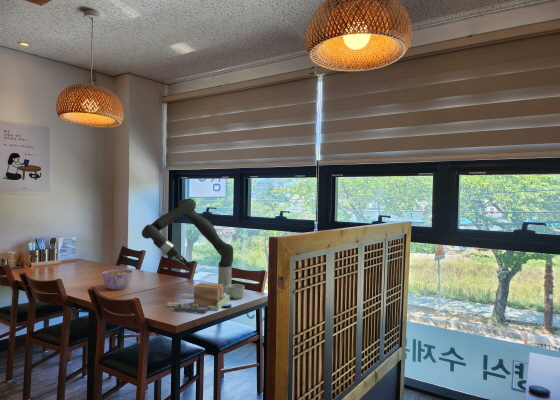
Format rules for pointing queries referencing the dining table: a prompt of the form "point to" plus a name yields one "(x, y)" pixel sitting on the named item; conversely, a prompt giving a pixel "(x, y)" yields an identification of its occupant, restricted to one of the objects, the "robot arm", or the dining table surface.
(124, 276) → the bowl of food
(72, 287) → the dining table surface
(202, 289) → the block
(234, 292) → the teacup
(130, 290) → the dining table surface
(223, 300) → the lane
